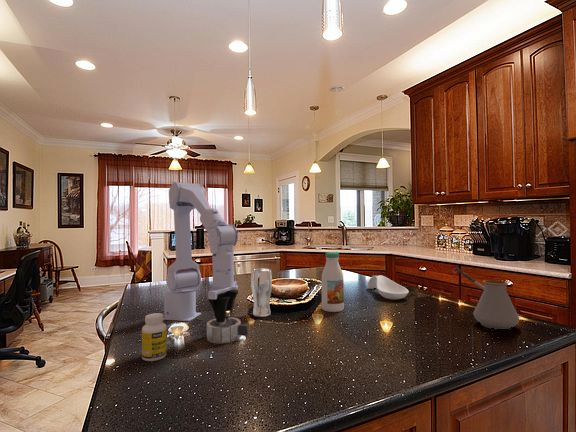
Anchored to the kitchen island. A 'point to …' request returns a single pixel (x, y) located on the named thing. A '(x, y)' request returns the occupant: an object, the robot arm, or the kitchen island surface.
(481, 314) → the coffee pot
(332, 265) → the milk bottle
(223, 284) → the robot arm
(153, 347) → the supplement bottle
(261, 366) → the kitchen island surface
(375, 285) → the spoon rest
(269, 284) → the beer glass
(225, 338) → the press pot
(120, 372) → the kitchen island surface
